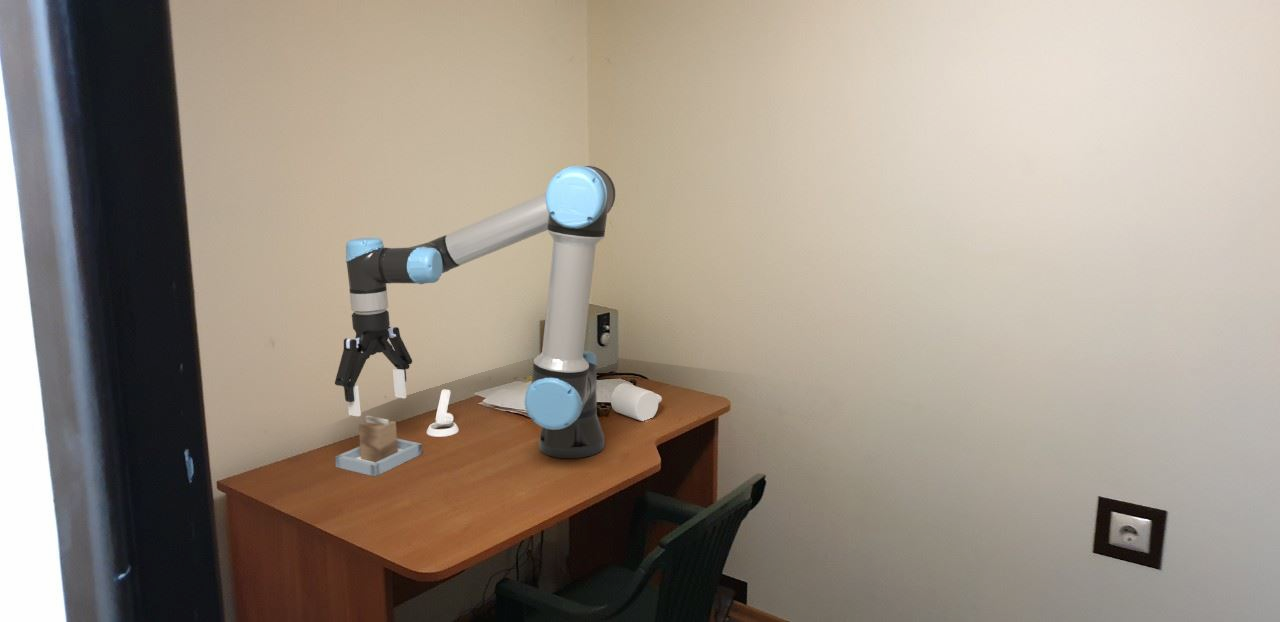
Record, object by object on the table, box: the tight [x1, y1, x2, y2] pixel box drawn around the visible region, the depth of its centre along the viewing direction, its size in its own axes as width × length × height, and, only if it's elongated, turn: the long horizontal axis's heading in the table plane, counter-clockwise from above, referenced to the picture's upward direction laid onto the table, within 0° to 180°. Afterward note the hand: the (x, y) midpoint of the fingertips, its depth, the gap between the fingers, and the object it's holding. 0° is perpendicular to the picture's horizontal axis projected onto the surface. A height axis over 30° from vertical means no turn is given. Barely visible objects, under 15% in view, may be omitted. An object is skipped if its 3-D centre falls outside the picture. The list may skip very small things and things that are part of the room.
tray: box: [334, 438, 423, 477], centre depth 171 cm, size 11×14×2 cm
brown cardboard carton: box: [358, 415, 398, 462], centre depth 170 cm, size 6×5×9 cm
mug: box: [610, 382, 663, 422], centre depth 201 cm, size 12×10×8 cm
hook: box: [426, 389, 459, 438], centre depth 191 cm, size 8×12×7 cm
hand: (378, 406), depth 168 cm, fingers open, 13 cm apart
